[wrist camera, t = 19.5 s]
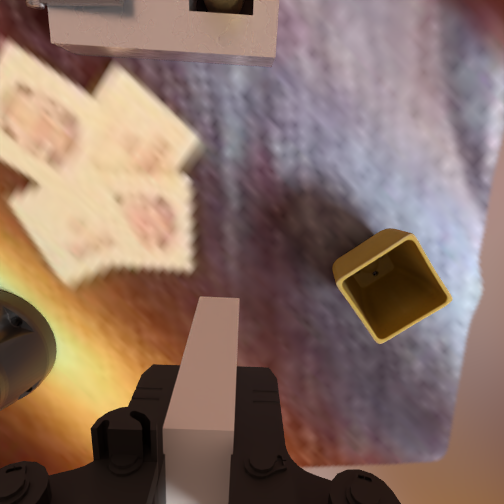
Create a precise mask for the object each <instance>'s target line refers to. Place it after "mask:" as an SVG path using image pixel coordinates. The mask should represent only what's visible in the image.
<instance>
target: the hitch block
mask: <svg viewBox="0 0 504 504" xmlns="http://www.w3.org/2000/svg"><path fill="white" fill-rule="evenodd" d="M47 7H48V17H49V27H50V37H51V43H52V44H55V45H57V46H59V47H61V48H63V49H65V50H67V51H69V52H72V53H74V54H76V55H91V56H107V57H122V58H138V59H153V60H169V61H184V62H200V63H215V64H231V65H246V66H262V67H272V65H273V62H274V59H275V54H276V39H277V24H278V9H279V0H254V2H253V15H240V14H226V13H211V12H197V11H196V7H197V0H124V6H47Z"/></svg>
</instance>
